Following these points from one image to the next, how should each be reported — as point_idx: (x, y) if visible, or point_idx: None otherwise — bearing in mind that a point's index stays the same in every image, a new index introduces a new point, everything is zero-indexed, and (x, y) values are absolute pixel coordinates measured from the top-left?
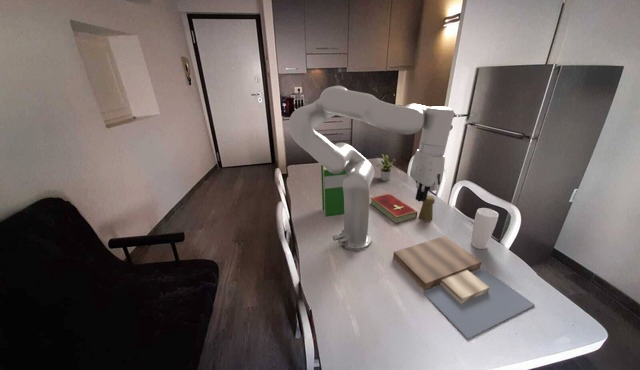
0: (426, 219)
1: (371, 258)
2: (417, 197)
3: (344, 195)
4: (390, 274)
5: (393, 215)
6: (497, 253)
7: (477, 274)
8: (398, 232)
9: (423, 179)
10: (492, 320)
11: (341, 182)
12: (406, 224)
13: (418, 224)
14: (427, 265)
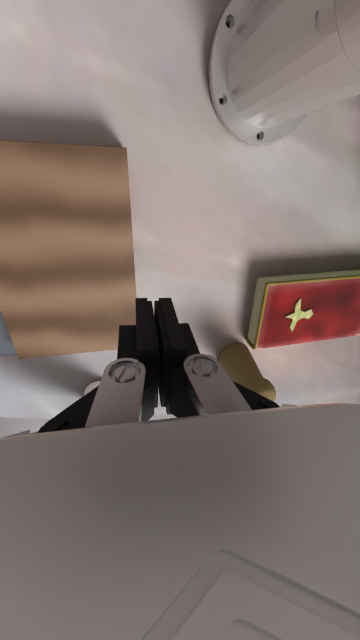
0: (224, 353)
1: (152, 62)
2: (156, 309)
3: None
4: (52, 74)
5: (279, 281)
6: (66, 404)
7: (2, 327)
8: (221, 256)
9: (15, 574)
10: None
11: None
12: (237, 299)
13: (221, 326)
14: (30, 214)
